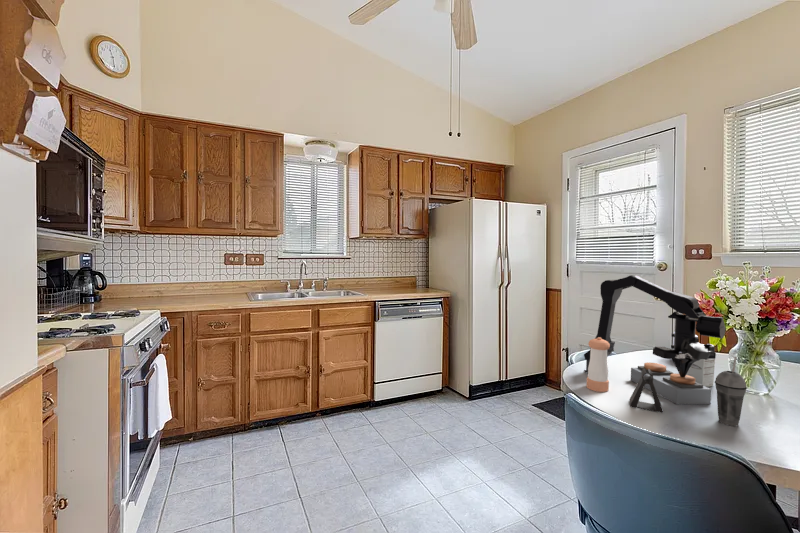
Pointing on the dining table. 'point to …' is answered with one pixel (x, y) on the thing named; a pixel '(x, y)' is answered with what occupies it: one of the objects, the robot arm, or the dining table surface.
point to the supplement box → (703, 371)
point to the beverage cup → (730, 396)
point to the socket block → (674, 388)
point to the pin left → (655, 367)
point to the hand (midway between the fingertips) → (682, 376)
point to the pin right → (682, 379)
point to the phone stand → (638, 390)
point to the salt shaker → (598, 366)
